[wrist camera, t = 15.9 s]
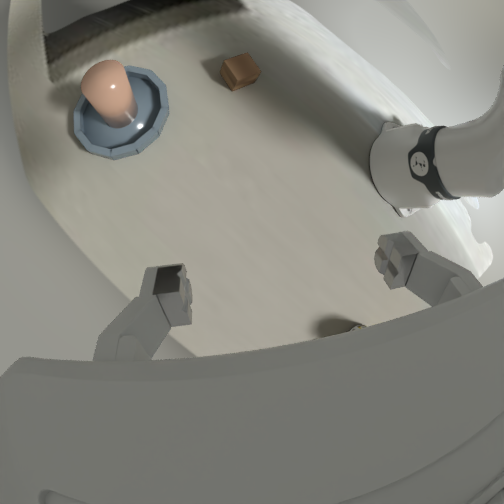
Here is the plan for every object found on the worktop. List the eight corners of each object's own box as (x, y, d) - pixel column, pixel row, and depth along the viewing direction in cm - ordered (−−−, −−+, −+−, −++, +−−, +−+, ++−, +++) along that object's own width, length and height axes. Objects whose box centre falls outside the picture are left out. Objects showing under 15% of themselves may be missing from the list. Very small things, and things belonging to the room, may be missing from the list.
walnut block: (241, 64, 35) (247, 52, 31) (254, 82, 36) (261, 71, 32) (219, 72, 35) (223, 60, 31) (232, 91, 36) (237, 80, 32)
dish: (163, 66, 32) (163, 58, 30) (174, 145, 35) (173, 141, 32) (78, 88, 29) (74, 82, 27) (82, 170, 32) (76, 167, 29)
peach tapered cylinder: (136, 92, 31) (124, 54, 21) (139, 123, 32) (126, 91, 22) (103, 102, 30) (81, 68, 20) (105, 132, 31) (81, 105, 21)
